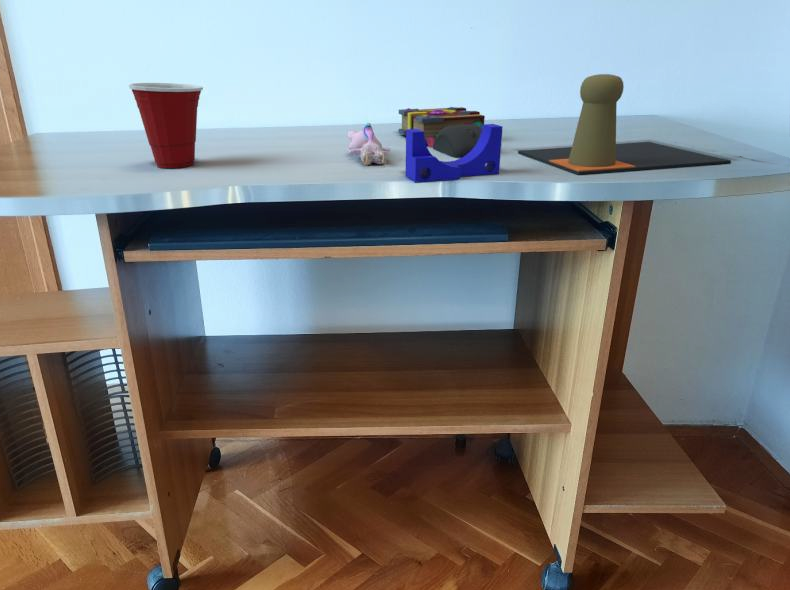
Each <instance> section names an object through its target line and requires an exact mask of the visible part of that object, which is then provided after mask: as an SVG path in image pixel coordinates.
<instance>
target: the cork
mask: <svg viewBox="0 0 790 590" xmlns="http://www.w3.org/2000/svg"><path fill="white" fill-rule="evenodd" d="M624 88H625V87H624V81H623V78H622V77H620V76H619V75H615V74H610V73H609V74H608V73H600V74H599V73H598V74H594V75H593V74H592V75H589V76H587V77H585V78H584V79H583V81H582V82H581V85H580V88H579V89H580V90H579V94H580V99H581V101H582V106H581V110H580V115H579V117H578V121H577V125H576V126H577V127H576V129H575V133H574V136H573V142H572V145H571V147H572V149H571V153H570V157H569V161H568V163H569V164H572V165H576V166H585V167H605V166H612V165H615V164H616V144H617V106H618V105H617V102H618V101H619V100H620V99H621V98H622V96H623V92H624Z"/></svg>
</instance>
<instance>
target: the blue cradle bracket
mask: <svg viewBox="0 0 790 590" xmlns="http://www.w3.org/2000/svg"><path fill="white" fill-rule="evenodd" d="M503 129H504V127H503V126H502V125H500V124H499V125H498V124H495V123H484V124H483V126H482V132H481V135H480V138H479V140H478V142H477V144H476V145H475V147H474V148H473V149H472V150H471V151H470V152H469V153H468V154H467V155H465V156H464V157H462V158H457V159H455V160H450V161H443V160H439V159H438V157H436V156H435V155H433V154H432V153H431V152H430V150H429V147H428V145H427V144H426V143H425V138H424V131H422V130H419V129H406V135H405V177H406V178H408V179H409V180H411V182H414V183H427V182H428V183H429V182H442V181H454V180H461V177H476V176H486V175H487V176H488V175H500V167H501V155H502V154H501V153H502V140H503Z"/></svg>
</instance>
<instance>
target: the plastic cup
mask: <svg viewBox="0 0 790 590" xmlns="http://www.w3.org/2000/svg"><path fill="white" fill-rule="evenodd" d="M128 87H129V89H131V92H132V94H133V97H134V100H135V102H136V107H137V108H138V111H139V114H140V119H141V121H142V124H143V128H144V132H145V135H146V138H147V141H148V144H149V146H150V149H151V152H152V156H153V159H154V162H155V164H156V166H157V168H159V169H179V168H181V169H182V168H187V167H190V166H194V164H195V159H196V142H197V126H198V125H197V123H198V121H197V120H198V107H199V101H200V95H201V93H202V91H203V90H204V86H203V85H197V84H188V83H175V82H174V83H173V82H134V83H128Z"/></svg>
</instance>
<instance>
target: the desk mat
mask: <svg viewBox="0 0 790 590" xmlns="http://www.w3.org/2000/svg"><path fill="white" fill-rule="evenodd" d="M571 149H572V146H566V147H564V146H563V147H551V148H549V147H548V148H538V149H537V148H536V149H534V148H533V149H523V150H517V154H519V155H522V156H524V157H528V158H530V159H533V160H536V161H539V162H542V163H543V164H547V165H549V166H553V167H556V168H558V169H561V170H564V171H567V172H569V173H572V174H574V175H578V176H583V175H597V174H598V175H599V174H608V173H609V174H610V173H622V172H635V171H647V170H661V169H673V168H674V169H675V168H687V167H699V166H700V167H701V166H714V165H726V164H727V165H728V164H731V163H732V159H726V158H722V157H718V156H713V155H709V154H705V153H700V152H696V151H691V150H687V149H683V148H679V147H674V146H671V145H670V146H669V145H665V144H661V143H656V142H652V141H640V142H639V141H637V142H623V143H616V164H615V165H612V166H605V167H585V166H576V165H572V164H569V163H568V161H569V157H570V153H571Z"/></svg>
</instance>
